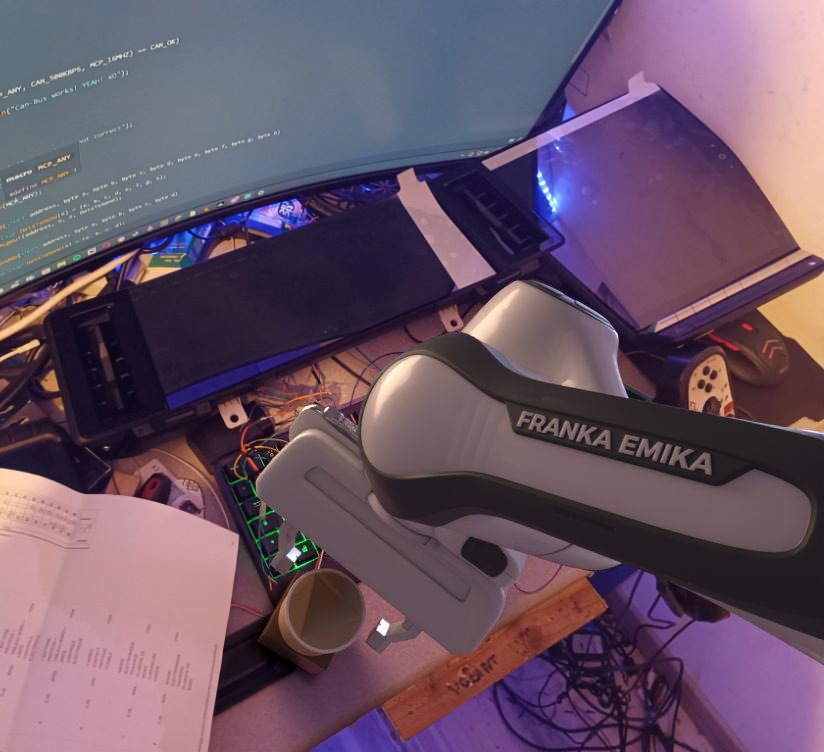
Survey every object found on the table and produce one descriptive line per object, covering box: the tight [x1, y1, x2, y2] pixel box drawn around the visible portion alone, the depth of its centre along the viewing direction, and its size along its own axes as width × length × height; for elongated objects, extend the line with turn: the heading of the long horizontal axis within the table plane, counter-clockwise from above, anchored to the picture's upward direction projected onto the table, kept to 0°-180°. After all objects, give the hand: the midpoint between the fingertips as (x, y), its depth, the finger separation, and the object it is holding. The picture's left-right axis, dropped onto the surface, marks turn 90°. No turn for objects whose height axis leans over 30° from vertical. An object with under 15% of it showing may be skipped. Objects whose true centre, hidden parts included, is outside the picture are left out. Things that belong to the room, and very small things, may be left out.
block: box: [257, 570, 337, 674], centre depth 66 cm, size 6×6×11 cm
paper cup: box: [279, 567, 367, 656], centre depth 57 cm, size 6×6×8 cm
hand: (326, 605), depth 56 cm, fingers open, 8 cm apart
